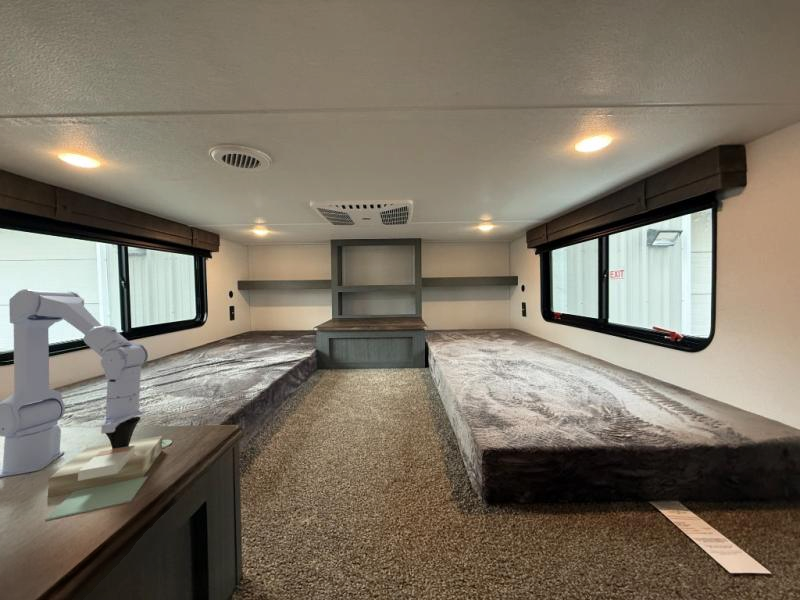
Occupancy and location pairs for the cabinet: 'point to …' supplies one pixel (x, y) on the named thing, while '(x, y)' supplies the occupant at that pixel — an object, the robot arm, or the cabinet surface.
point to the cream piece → (133, 469)
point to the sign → (166, 443)
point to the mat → (98, 498)
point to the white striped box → (106, 463)
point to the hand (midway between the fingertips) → (120, 451)
